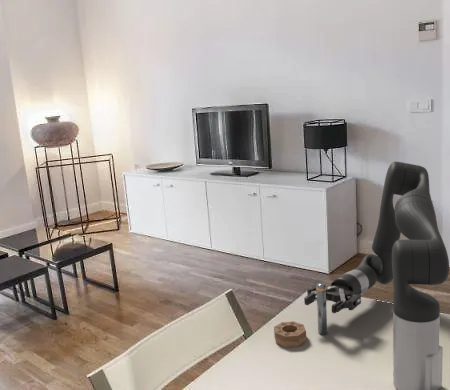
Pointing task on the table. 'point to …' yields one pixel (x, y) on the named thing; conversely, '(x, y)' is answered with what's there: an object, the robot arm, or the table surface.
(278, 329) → the bead
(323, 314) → the banded metal pin
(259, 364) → the table surface
